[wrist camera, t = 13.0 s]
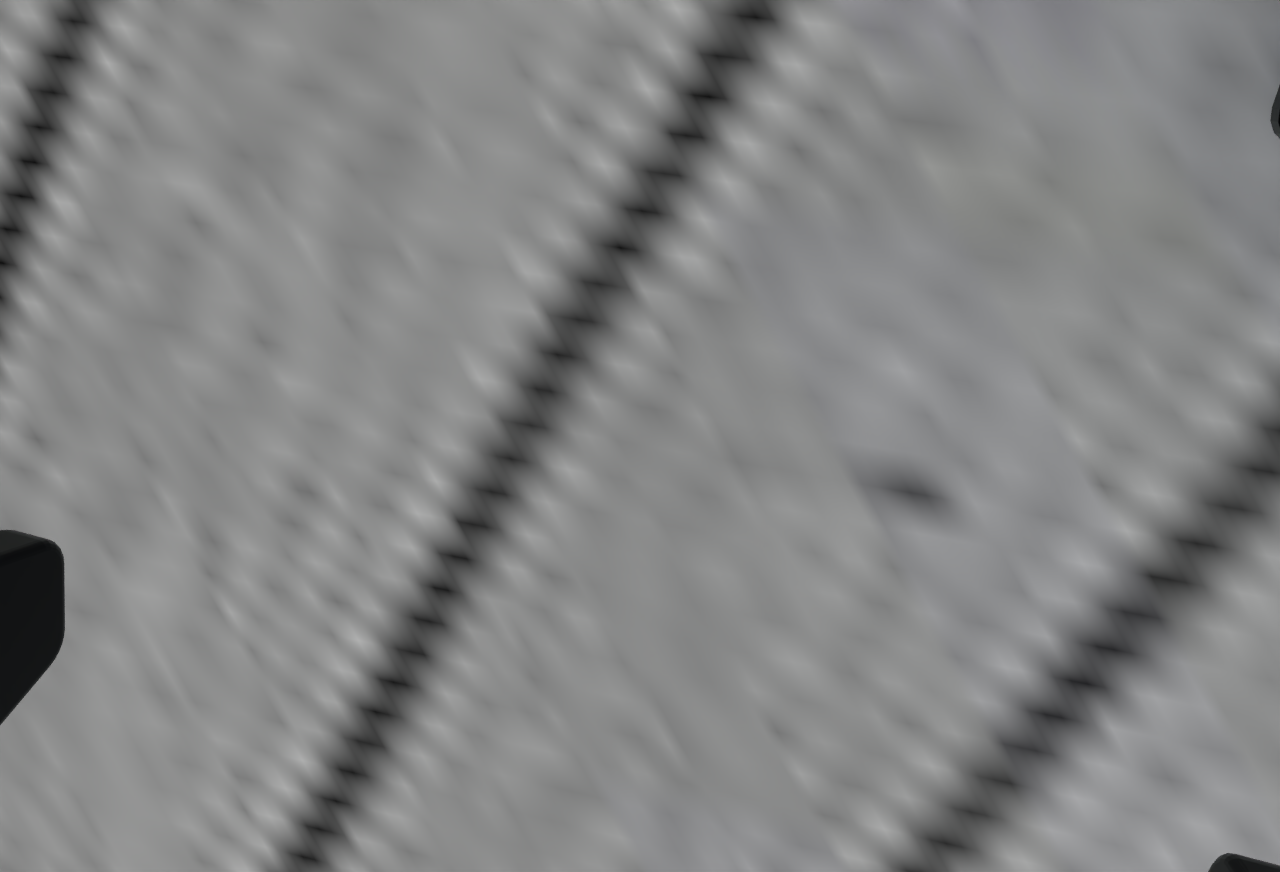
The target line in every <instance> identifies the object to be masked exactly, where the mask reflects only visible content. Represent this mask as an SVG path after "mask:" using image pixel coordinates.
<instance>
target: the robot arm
mask: <svg viewBox="0 0 1280 872" xmlns="http://www.w3.org/2000/svg"><path fill="white" fill-rule="evenodd" d="M1270 121H1271V124H1272V127H1273V130H1274V133H1275V134H1276V135H1277V136H1278V137H1279V138H1280V86H1279V89H1278V92H1277V95H1276V98H1275V101H1274V103H1273V106H1272V113H1271V120H1270ZM64 631H65V599H64V557H63V554H62V551H61V549H60V548H59V546H58V545H57V544H56V543H55V542H53V541H51V540H48V539H45V538H41V537H38V536H34V535H30V534H26V533H22V532H19V531H15V530H0V725H1V724H2V723H3V721H4V720H5V719H6V718H7V717H8V715H9V714H10V713H11V712H12V711H13V709H14V708H15V707H16V706H17V705H18V703H19V702H20V701H21V700H22V699H23V698H24V696H25V695H26V694H27V693H28V692H29V690H30V689H31V688H32V687H33V686H34V684H35V683H36V682H37V681H38V680H39V678H40V677H41V676H42V675H43V674H44V672H45V671H46V670H47V669H48V668H49V666H50V665H51V664H52V662H53V661H54V660H55V658H56V656H57V654H58V653H59V650H60V648H61V645H62V642H63V638H64ZM1209 872H1280V866H1279V865H1276V864H1272V863H1268V862H1264V861H1260V860H1256V859H1253V858H1249V857H1245V856H1241V855H1237V854H1232V853H1227V854H1224V855H1222V856H1220V857H1218V858H1217V859H1216V861H1215V862H1214V863H1213V864H1212V866H1211V868H1210V870H1209Z"/></svg>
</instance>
